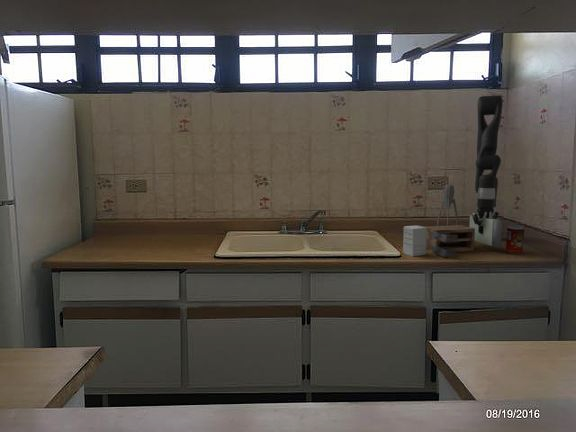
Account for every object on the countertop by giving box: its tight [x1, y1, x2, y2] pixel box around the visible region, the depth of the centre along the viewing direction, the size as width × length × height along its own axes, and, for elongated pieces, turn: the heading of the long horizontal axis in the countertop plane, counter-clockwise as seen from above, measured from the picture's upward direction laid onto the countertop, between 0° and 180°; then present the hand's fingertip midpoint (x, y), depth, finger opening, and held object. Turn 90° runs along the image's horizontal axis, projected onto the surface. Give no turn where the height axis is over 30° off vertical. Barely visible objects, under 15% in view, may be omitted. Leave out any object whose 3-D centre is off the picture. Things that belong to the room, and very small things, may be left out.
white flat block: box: [468, 214, 503, 248], centre depth 212 cm, size 4×20×12 cm, turn 14°
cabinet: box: [424, 224, 475, 258], centre depth 206 cm, size 21×22×10 cm
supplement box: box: [402, 225, 427, 257], centre depth 201 cm, size 7×7×13 cm
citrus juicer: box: [436, 183, 459, 226], centre depth 225 cm, size 11×10×30 cm
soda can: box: [505, 224, 525, 255], centre depth 204 cm, size 7×7×12 cm
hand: (484, 233), depth 213 cm, fingers closed on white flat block, 3 cm apart
